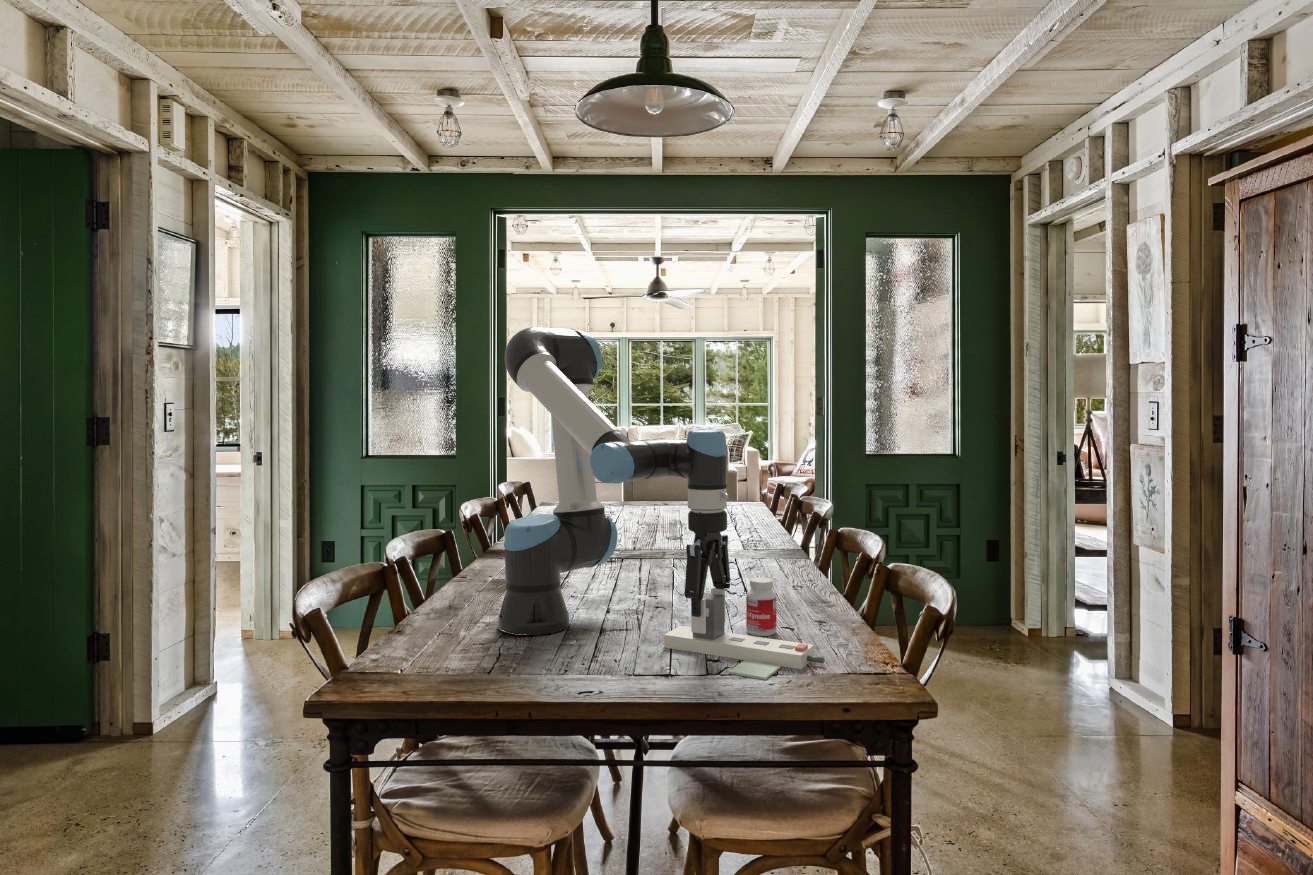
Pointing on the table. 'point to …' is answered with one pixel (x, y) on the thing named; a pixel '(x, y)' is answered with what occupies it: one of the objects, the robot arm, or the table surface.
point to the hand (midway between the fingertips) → (708, 626)
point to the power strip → (744, 648)
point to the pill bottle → (761, 607)
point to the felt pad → (754, 669)
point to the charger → (713, 617)
